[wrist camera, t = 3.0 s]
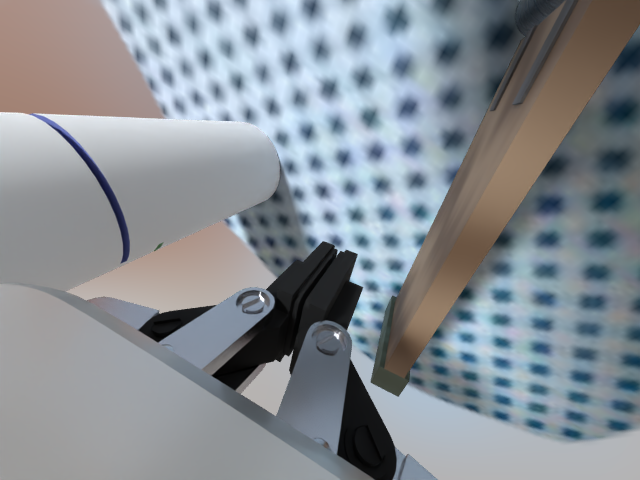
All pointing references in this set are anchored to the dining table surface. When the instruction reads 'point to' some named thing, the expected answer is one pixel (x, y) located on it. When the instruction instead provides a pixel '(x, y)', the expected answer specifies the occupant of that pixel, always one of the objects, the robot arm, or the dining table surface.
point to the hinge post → (534, 12)
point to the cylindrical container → (118, 189)
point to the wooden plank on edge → (502, 167)
